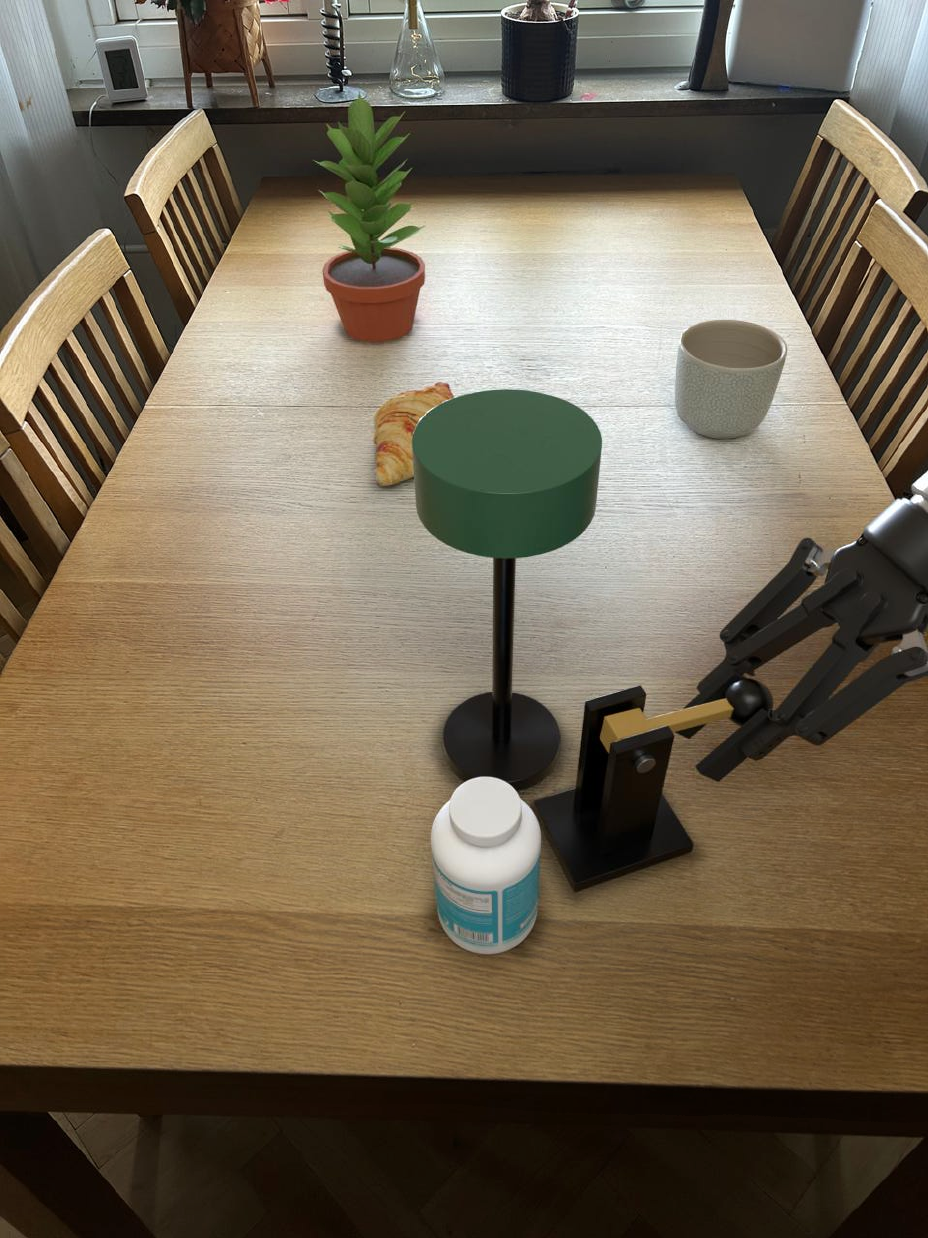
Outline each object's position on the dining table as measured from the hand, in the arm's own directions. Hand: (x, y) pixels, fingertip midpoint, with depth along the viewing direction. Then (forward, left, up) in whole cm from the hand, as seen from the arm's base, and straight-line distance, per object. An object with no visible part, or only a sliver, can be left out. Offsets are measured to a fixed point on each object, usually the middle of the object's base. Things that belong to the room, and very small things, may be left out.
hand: (692, 752), depth 70 cm
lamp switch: (0, +1, +3) cm, 3 cm away
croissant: (+58, +4, -7) cm, 59 cm away
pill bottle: (-3, +18, -7) cm, 20 cm away
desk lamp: (+11, +11, -7) cm, 17 cm away
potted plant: (+90, -1, -7) cm, 90 cm away
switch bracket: (0, +6, -7) cm, 9 cm away
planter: (+49, -33, -7) cm, 59 cm away
